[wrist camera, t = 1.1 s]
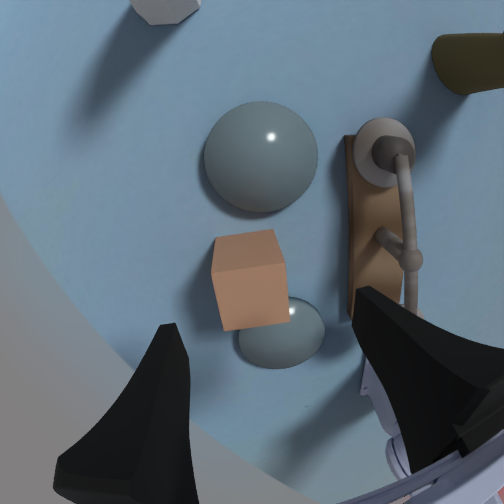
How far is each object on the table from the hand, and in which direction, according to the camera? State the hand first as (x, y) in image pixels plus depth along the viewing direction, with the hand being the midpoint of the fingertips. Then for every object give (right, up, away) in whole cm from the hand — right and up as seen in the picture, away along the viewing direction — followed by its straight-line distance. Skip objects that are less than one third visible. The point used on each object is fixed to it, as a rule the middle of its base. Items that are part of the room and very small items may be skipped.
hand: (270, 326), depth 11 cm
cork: (+18, +20, +7) cm, 27 cm away
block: (-1, +2, +13) cm, 13 cm away
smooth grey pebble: (+2, -5, +16) cm, 17 cm away
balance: (+10, +5, +13) cm, 17 cm away
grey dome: (0, +10, +10) cm, 14 cm away
